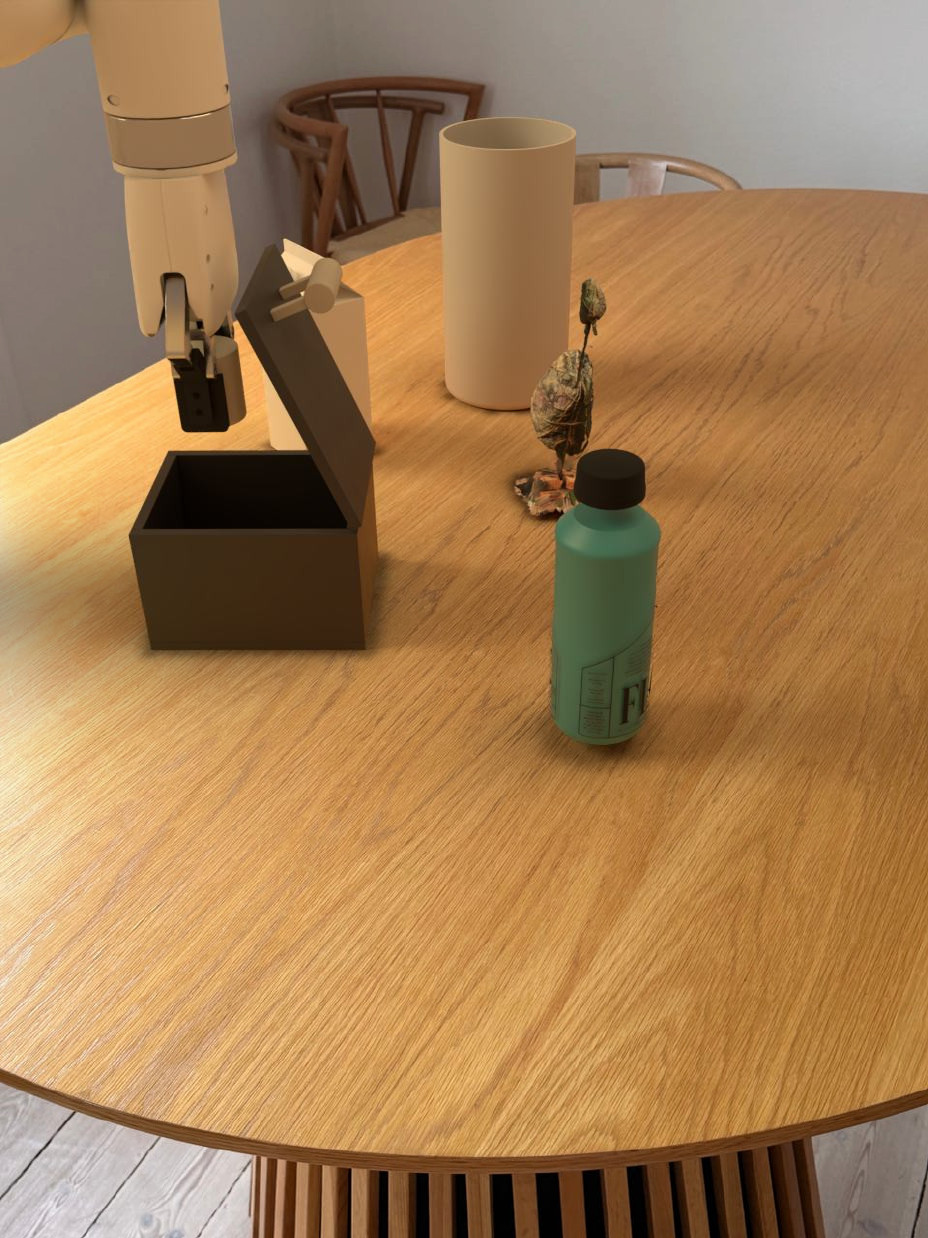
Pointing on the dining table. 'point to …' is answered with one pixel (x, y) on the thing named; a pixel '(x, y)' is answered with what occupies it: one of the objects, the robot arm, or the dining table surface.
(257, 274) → the lid
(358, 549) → the dark hinged wooden chest
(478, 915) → the dining table surface
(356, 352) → the milk carton
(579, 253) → the dining table surface
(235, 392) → the cylinder
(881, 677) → the dining table surface
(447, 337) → the cylinder vase
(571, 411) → the plant with pod
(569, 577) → the beverage bottle
